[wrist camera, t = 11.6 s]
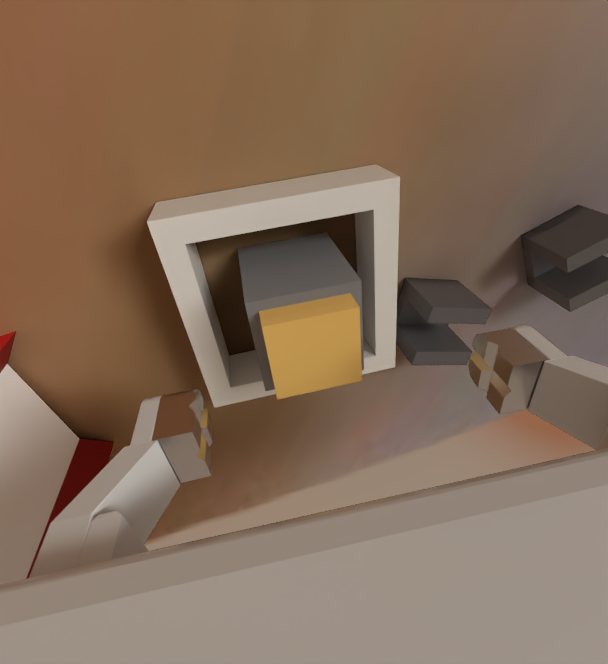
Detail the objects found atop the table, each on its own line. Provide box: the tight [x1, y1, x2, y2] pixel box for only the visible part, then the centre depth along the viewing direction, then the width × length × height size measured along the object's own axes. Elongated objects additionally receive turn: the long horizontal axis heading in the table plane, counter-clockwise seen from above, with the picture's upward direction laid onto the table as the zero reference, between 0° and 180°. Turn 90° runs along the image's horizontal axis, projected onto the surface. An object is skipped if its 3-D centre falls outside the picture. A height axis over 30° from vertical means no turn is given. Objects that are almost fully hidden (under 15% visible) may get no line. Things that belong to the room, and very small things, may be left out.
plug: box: [238, 232, 364, 400], centre depth 15 cm, size 4×4×6 cm
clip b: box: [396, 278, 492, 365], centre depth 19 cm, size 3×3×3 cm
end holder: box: [147, 164, 400, 408], centre depth 17 cm, size 9×9×2 cm
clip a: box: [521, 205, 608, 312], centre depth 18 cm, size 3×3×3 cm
